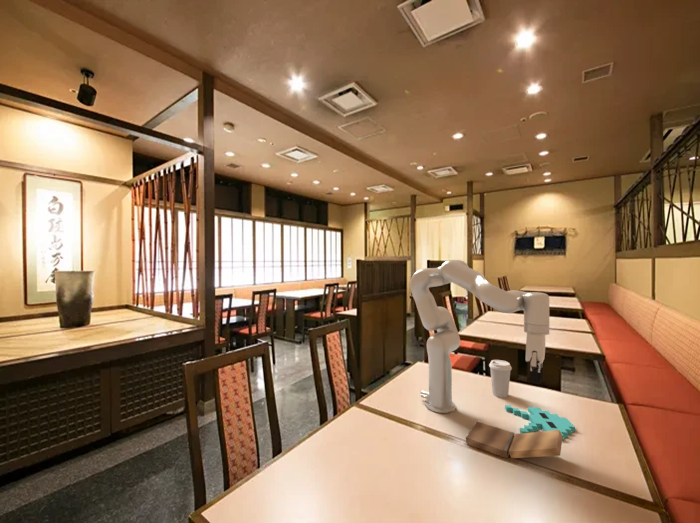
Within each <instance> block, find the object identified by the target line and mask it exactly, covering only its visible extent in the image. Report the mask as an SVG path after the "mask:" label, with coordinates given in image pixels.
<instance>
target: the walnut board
mask: <svg viewBox="0 0 700 523" xmlns="http://www.w3.org/2000/svg"><path fill="white" fill-rule="evenodd" d="M515 434H516V433H515V432H513V431H509V430H506V429H502V428H499V427H497V426H493V425H490V424H487V423H483V422H481V421H478V420H476V422H475V423H474V425H473V426H472V428H471V429H470V431H469V432H468V434H467V435H466V437H465V439H466V440H465V443H467V445H469V446H472V447H475V448H478V449H480V450H483V451H485V452H488V453H491V454H493V455H496V454H497V455H496V456H499V455H500V456H499V457H502V458H505V459H508V457H509V456H510V454H509V452H508V451H509V449H510V446H511V444H512V441H513V439H514V436H515Z"/></svg>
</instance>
